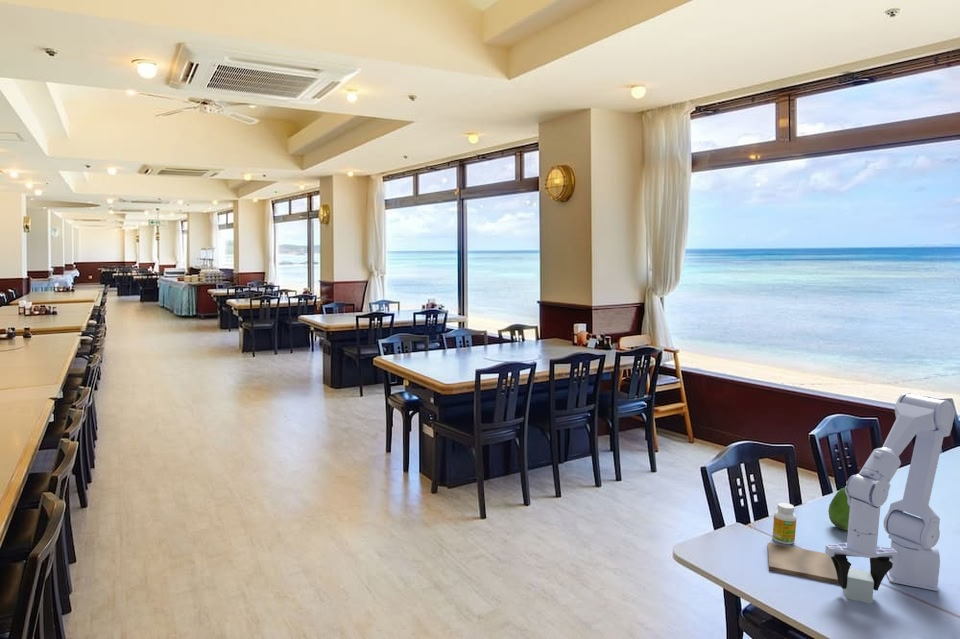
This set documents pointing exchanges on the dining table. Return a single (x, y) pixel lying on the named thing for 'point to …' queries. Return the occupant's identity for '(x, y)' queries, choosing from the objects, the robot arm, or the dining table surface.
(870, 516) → the robot arm
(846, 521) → the avocado
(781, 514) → the supplement bottle
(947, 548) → the dining table surface
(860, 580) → the pale blue-gray cube
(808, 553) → the brown wooden board
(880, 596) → the dining table surface
